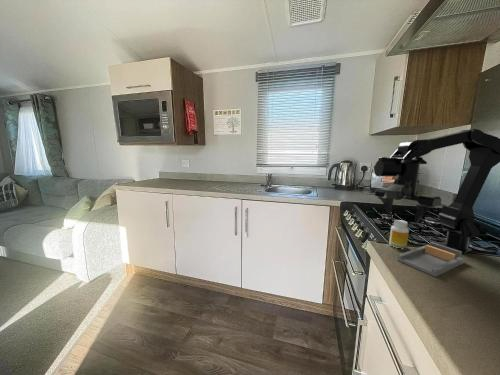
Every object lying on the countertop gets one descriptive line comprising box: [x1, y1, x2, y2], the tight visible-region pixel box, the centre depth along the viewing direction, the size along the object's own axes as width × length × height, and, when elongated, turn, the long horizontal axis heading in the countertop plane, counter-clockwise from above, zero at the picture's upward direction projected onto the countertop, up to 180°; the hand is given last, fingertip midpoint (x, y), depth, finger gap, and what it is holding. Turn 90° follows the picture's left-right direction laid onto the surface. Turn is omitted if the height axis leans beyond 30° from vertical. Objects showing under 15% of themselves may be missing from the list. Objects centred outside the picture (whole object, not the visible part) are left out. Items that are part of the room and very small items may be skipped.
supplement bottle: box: [388, 219, 410, 250], centre depth 76 cm, size 5×5×10 cm
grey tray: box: [396, 241, 466, 278], centre depth 65 cm, size 18×10×3 cm, turn 116°
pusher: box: [424, 244, 455, 261], centre depth 68 cm, size 1×7×3 cm, turn 26°
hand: (401, 219), depth 75 cm, fingers open, 9 cm apart
